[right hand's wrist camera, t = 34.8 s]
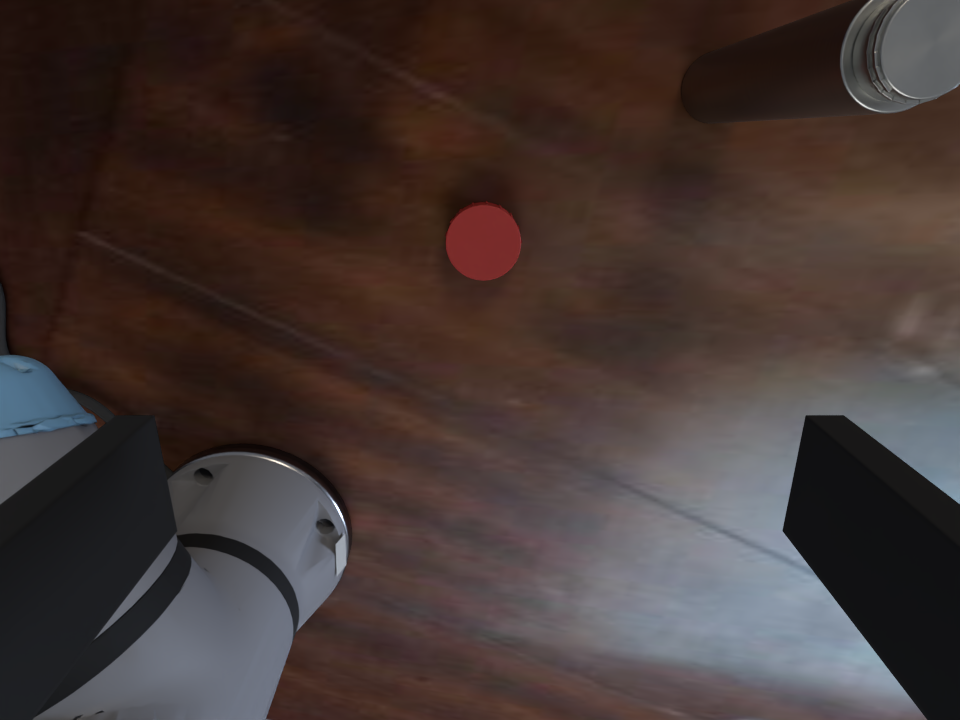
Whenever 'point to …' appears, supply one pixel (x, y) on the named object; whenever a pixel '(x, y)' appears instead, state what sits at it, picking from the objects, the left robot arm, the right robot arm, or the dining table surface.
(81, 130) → the dining table surface
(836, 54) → the black bottle
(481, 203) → the lid
